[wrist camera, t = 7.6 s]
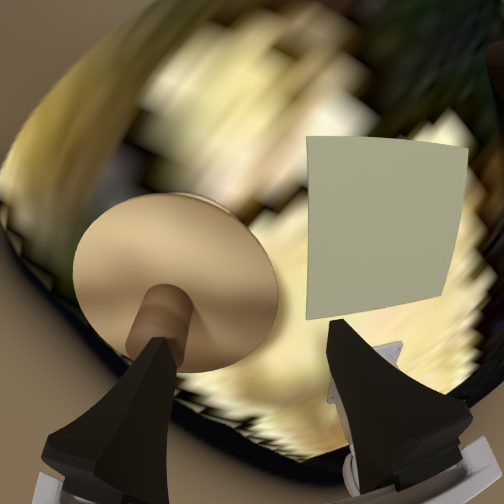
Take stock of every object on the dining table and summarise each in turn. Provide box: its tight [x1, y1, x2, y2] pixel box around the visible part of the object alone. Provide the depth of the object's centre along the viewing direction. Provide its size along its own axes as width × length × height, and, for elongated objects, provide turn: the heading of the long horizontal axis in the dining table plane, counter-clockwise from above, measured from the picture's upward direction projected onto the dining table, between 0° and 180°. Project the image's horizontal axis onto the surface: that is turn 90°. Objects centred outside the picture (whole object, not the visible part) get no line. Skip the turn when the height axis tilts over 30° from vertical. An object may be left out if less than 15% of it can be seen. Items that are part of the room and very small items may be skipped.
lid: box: [73, 193, 278, 373], centre depth 14 cm, size 13×13×5 cm
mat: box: [306, 136, 468, 320], centre depth 20 cm, size 15×15×1 cm
